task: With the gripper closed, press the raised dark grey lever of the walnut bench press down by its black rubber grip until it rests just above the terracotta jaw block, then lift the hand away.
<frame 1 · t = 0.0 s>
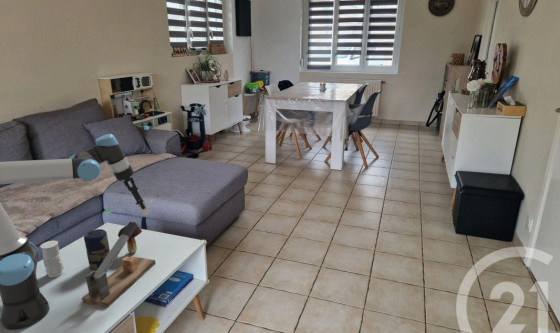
hand: (144, 208, 166), 28 cm above the table, tool tilted 20°, fingers open, 13 cm apart
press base: (122, 281, 160), on the table
white ribbed cylinder: (55, 274, 166), on the table
canister: (101, 265, 172), on the table
decorative mushroom: (132, 252, 183), on the table
lever: (115, 250, 155), point 16 cm above the table, hinge at 25.0°
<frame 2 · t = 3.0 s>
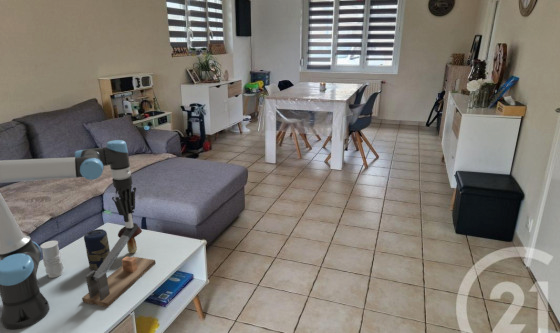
hand: (129, 227, 162), 22 cm above the table, tool pointing down, fingers closed
lever: (116, 250, 155), point 15 cm above the table, hinge at 23.5°, touching gripper
everything else where it was.
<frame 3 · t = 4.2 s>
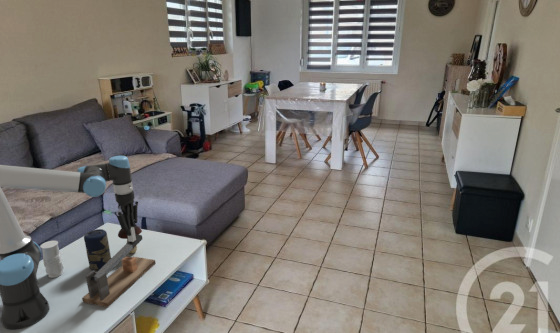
hand: (132, 240, 164), 15 cm above the table, tool pointing down, fingers closed
lever: (118, 256, 157), point 12 cm above the table, hinge at 8.4°, touching gripper
everything else where it was.
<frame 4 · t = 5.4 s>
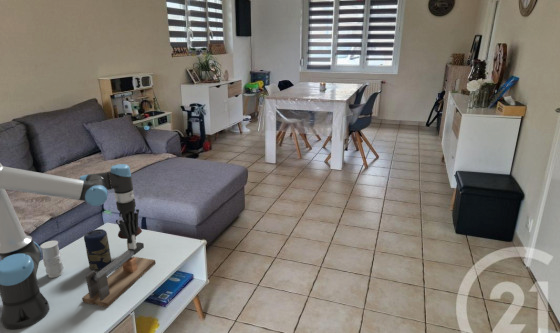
hand: (132, 248, 165), 11 cm above the table, tool pointing down, fingers closed
lever: (119, 261, 158), point 10 cm above the table, hinge at -0.6°, touching gripper
everything else where it was.
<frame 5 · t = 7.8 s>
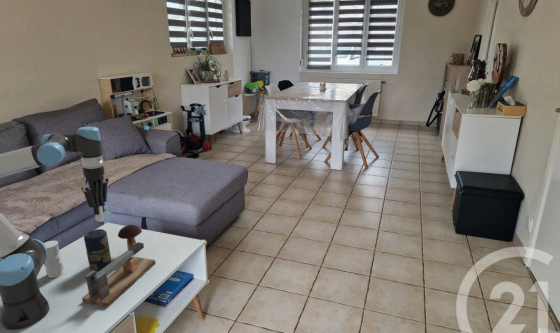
hand: (100, 220, 152), 29 cm above the table, tool pointing down, fingers closed
lever: (119, 261, 158), point 10 cm above the table, hinge at -0.7°
everything else where it was.
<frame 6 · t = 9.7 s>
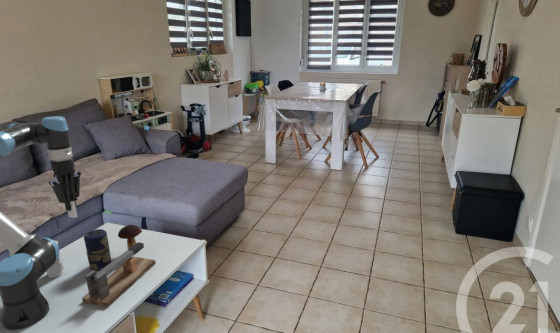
hand: (73, 216, 143), 34 cm above the table, tool pointing down, fingers closed
nothing on the table moved.
at the end: lever at -1° (first picture: +25°); canister moved 0.2 cm from its start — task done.
